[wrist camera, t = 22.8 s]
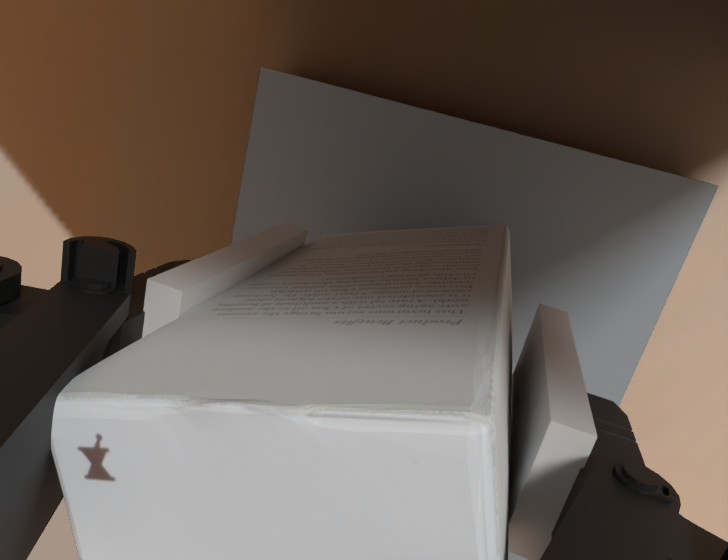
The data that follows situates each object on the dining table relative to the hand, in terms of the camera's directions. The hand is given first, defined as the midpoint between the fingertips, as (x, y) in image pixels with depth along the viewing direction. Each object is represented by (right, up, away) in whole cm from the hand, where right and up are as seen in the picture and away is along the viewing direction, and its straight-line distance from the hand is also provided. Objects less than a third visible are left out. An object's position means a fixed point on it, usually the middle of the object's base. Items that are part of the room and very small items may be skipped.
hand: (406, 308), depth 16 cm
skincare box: (+1, +1, +2) cm, 2 cm away
